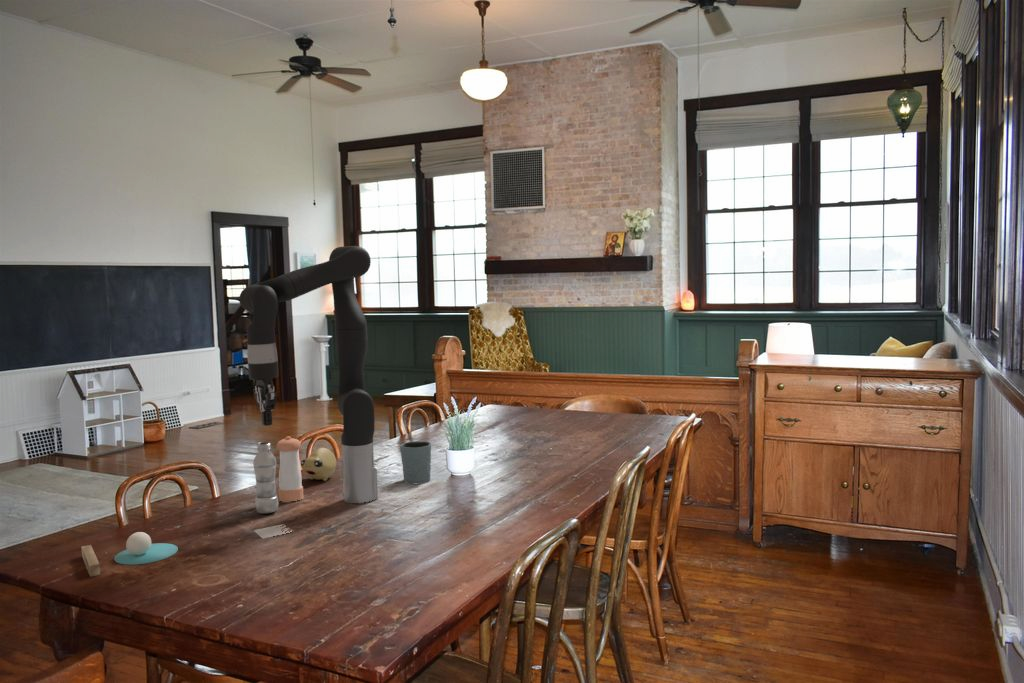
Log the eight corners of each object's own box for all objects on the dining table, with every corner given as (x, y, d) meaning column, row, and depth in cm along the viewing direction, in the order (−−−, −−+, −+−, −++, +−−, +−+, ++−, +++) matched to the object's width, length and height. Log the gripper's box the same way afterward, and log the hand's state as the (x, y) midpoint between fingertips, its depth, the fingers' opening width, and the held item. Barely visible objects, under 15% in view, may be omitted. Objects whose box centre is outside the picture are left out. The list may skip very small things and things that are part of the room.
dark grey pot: (417, 486, 243) (415, 448, 242) (394, 481, 249) (393, 445, 248) (438, 479, 251) (437, 442, 250) (416, 474, 257) (415, 439, 256)
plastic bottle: (254, 517, 214) (251, 446, 212) (256, 510, 220) (252, 441, 219) (278, 514, 215) (275, 444, 214) (279, 508, 222) (276, 440, 220)
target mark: (171, 540, 196) (171, 539, 196) (183, 555, 184) (183, 554, 184) (110, 552, 188) (110, 551, 188) (119, 569, 176) (119, 568, 176)
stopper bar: (91, 554, 186) (90, 544, 186) (100, 574, 173) (99, 564, 173) (82, 556, 185) (81, 546, 185) (90, 576, 172) (89, 566, 172)
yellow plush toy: (295, 483, 248) (294, 451, 248) (316, 474, 260) (315, 443, 259) (322, 485, 245) (320, 453, 244) (342, 476, 257) (340, 445, 256)
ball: (128, 553, 187) (152, 545, 190) (129, 562, 183) (154, 554, 185) (123, 532, 186) (147, 525, 188) (124, 541, 181) (149, 533, 184)
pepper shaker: (273, 500, 229) (270, 437, 228) (290, 494, 236) (287, 433, 234) (291, 503, 226) (288, 439, 224) (308, 497, 232) (306, 435, 231)
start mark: (283, 524, 206) (283, 524, 206) (293, 532, 200) (293, 531, 200) (253, 530, 202) (253, 530, 202) (262, 539, 195) (262, 538, 195)
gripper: (285, 361, 200) (289, 426, 201) (268, 357, 210) (273, 419, 212) (256, 364, 195) (261, 430, 197) (240, 360, 206) (245, 423, 208)
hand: (267, 424), depth 204 cm, fingers closed
